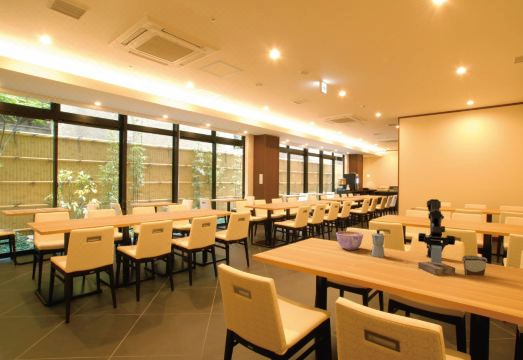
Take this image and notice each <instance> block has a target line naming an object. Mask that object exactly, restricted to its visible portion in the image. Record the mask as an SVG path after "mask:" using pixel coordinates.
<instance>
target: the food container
mask: <svg viewBox="0 0 523 360" xmlns="http://www.w3.org/2000/svg"><path fill="white" fill-rule="evenodd" d="M461 260H462V261H463V269H464V270H463V271H464V275H465V276H467V277H485V274H486V265H487V263H488V259H487V258H486V257H484V256H480V255H471V254H469V255H466V254H465V255H463V256H462V259H461Z"/></svg>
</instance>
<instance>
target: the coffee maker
mask: <svg viewBox="0 0 523 360" xmlns="http://www.w3.org/2000/svg"><path fill="white" fill-rule="evenodd" d="M371 239H372V240H371V241H372V244H373V246H372V250H371V256H372V257H374V258H385V257H386V255H385V250H384V242H385V234H383V233H381V230H380V229H376V233H372V234H371Z"/></svg>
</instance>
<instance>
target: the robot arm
mask: <svg viewBox="0 0 523 360" xmlns="http://www.w3.org/2000/svg"><path fill="white" fill-rule="evenodd" d="M441 203H442V202H441V201H440V200H439V199H437V198H431V199H429V200H427V201H426V208H427V211H428V215H427V216H428V220H429V221H430V223H429V225H430V226H429V227H430V229H429V230H430V233H429V234H427V233H424V232H419V233H418V235H417V238H418V239H417V241H418V242H420V243H424V244H426V249H427V254H426V255H425V256H426V257H427V258H430V259H431V251H432V247H431V245H436V246H441V247H442V252H444V250H445V248H446V246H448V245H452V246H454V245H455V244H456V236H454V235H446V237H444V236H443V233H446V226H444V225H442V222H443V221H442V220H443V219H445V215H443V213H442V211H441V210H440V209H441V207H442V204H441Z"/></svg>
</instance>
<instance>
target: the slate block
mask: <svg viewBox="0 0 523 360" xmlns="http://www.w3.org/2000/svg"><path fill="white" fill-rule="evenodd" d="M431 247H432V251H431V258H430V262H433V263H441V264H442V263H443V262H442V260H443V259H442V258H443V251H442V247H441V246H436V245H431Z"/></svg>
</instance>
